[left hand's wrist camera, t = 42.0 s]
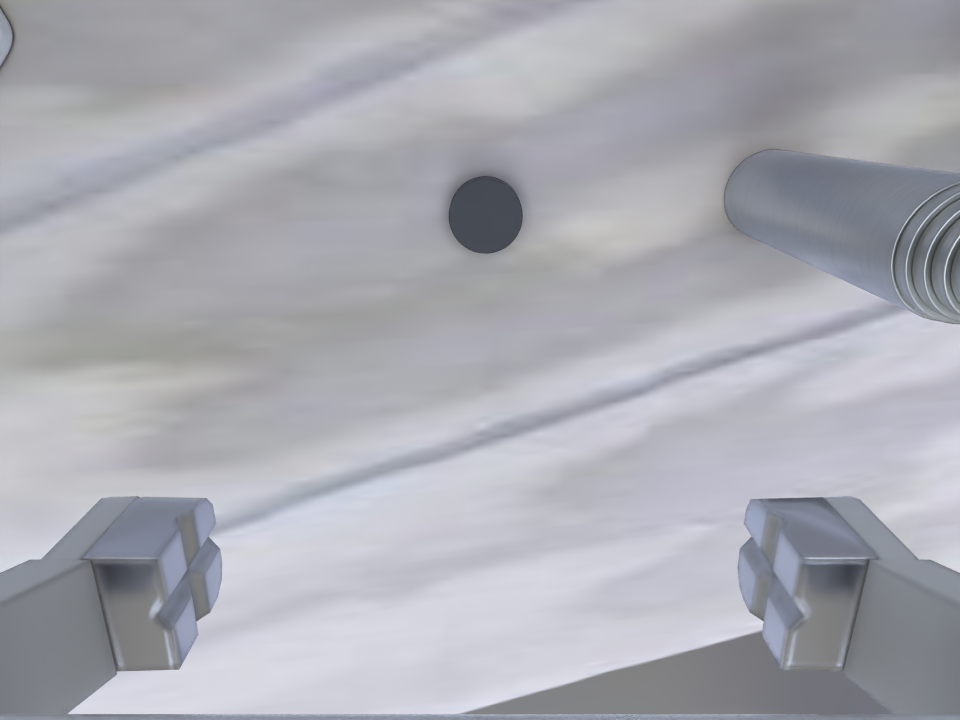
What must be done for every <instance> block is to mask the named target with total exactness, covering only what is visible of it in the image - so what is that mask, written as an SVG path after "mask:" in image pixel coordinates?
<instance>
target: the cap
mask: <svg viewBox="0 0 960 720" xmlns="http://www.w3.org/2000/svg"><path fill="white" fill-rule="evenodd" d="M522 216H523V215H522V208H521V204H520V201H519V199H518V197H517V195H516V193H515V192H514V190H513V189H512V188H511V187H510V186H509V185H508V184H507V183H505V182H504V181H502V180H500V179H498V178H494V177H489V176H483V177H477V178H474V179H471V180H469V181H467V182H466V183H464V184H463V185H462V186H461V187H460V188H459V189H458V190H457V192H456V193H455V195H454V197H453V199H452V202H451V206H450V210H449V223H450V227H451V230H452V232H453V234H454V236H455V237H456V239H457V240H458V241H459V242H460V243H461V244H462V245H463V246H464V247H466V248H467V249H469V250H471V251H474V252H477V253H494V252H497V251H500V250H502V249H504V248H506V247H507V246H508V245H510V244H511V243H512V242H513V240H514V239H515V238H516V236H517V235H518V233H519V231H520V228H521V225H522Z"/></svg>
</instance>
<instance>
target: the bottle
mask: <svg viewBox="0 0 960 720" xmlns="http://www.w3.org/2000/svg"><path fill="white" fill-rule="evenodd" d="M724 204H725V210H726V214H727V216H728V218H729V220H730V222H731V223H732V224H733V226H734V227H735V228H736V229H737V230H739V231H740V232H742V233H743V234H746V235H748V236H750V237H752V238H754V239H756V240H758V241H760V242H763V243H765V244H767V245H769V246H771V247H773V248H775V249H778V250H780V251H782V252H784V253H786V254H788V255H791V256H793V257H795V258H797V259H799V260H801V261H803V262H806V263H808V264H810V265H812V266H814V267H816V268H818V269H821V270H823V271H825V272H827V273H829V274H831V275H833V276H836V277H838V278H840V279H842V280H844V281H846V282H848V283H851V284H853V285H855V286H857V287H859V288H861V289H863V290H866V291H868V292H870V293H872V294H874V295H876V296H878V297H881V298H883V299H885V300H887V301H889V302H891V303H893V304H896V305H898V306H900V307H902V308H904V309H906V310H908V311H911V312H913V313H915V314H917V315H919V316H921V317H924V318H927V319H930V320H935V321H941V322H945V323H951V324H960V174H959V173H951V172H944V171H936V170H929V169H921V168H913V167H906V166H898V165H891V164H883V163H875V162H868V161H860V160H853V159H845V158H838V157H830V156H822V155H815V154H807V153H800V152H792V151H784V150H765V151H761V152H758V153H756V154H754V155H752V156H750V157H748V158H747V159H745V160H744V161H743V162H742V163H741V164H740V165H739V166H738V167H737V168H736V169H735V170H734V172H733V173H732V175H731V177H730V178H729V181H728V183H727V186H726V189H725V195H724Z"/></svg>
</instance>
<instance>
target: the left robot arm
mask: <svg viewBox="0 0 960 720" xmlns="http://www.w3.org/2000/svg"><path fill="white" fill-rule="evenodd" d="M12 39H13V34H12V29H11V26H10V24H9V22H8V20H7V19H6V17H5V15H4V14H3V12H2V10H1V9H0V66H1V64H2V63H3V61H4V59H5V58H6V56H7V54H8V52H9V50H10V48H11V44H12ZM215 525H216V520H215V515H214V510H213V505H212V504H211V502H210V501H209V500H208V499H207V498H170V497H141V498H140V497H138V496H135V497H107V498H102V499H100V500H99V502H98V503H97V504H96V505H95V506H94V507H93V508H92V509H91V510H90V511H89V512H88V513H87V514H86V515H85V516H84V517H83V518H82V519H81V520H80V521H79V522H78V523H77V524H76V525H75V526H74V527H73V528H72V529H71V530H70V531H69V532H68V533H67V534H66V535H65V536H64V537H63V538H62V539H61V540H60V541H59V542H58V543H57V544H56V545H55V546H54V547H53V548H52V549H51V550H50V551H49V552H48V553H47V554H46V555H45V556H44V557H43V558H42V559H41V560H28V561H26V562H24V563H22V564H19V565H17V566H15V567H13V568H10V569H8V570H6V571H4V572H2V573H0V720H960V573H958V572H956V571H954V570H952V569H949V568H947V567H945V566H943V565H941V564H938V563H936V562H934V561H932V560H919V559H918V558H917V557H916V556H915V555H914V554H913V553H912V552H911V551H910V550H909V549H908V548H907V547H906V546H905V545H904V544H903V543H902V542H901V541H900V540H899V539H898V538H897V537H896V536H895V535H894V534H893V533H892V532H891V531H890V530H889V529H888V528H887V527H886V526H885V525H884V524H883V523H882V522H881V521H880V520H879V519H878V518H877V517H876V516H875V514H874V513H873V512H872V511H871V510H870V509H869V508H868V507H867V506H866V505H865V504H864V503H863V502H862V501H861V500H860V499H857V498H854V497H852V496H843V497H818V498H778V499H751V500H750V502H749V504H748V506H747V509H746V514H745V520H744V525H745V526H746V528H747V529H748V531H749V533H750V534H751V536H752V537H751V538H750V539H749V540H748V541H747V542H746V543H745V544H744V545H743V546H742V547H741V548H740V552H739V561H738V577H739V587H740V590H741V593H742V597H743V600H744V602H745V604H746V606H747V608H748V610H749V612H750V613H752V614H753V615H755V616H756V617H758V618H759V619H761V620H762V621H764V624H763V630H762V636H763V638H764V639H765V641H766V643H767V645H768V647H769V649H770V650H771V652H772V654H773V656H774V658H775V660H776V661H777V663H778V665H779V667H780V669H781V670H816V671H844V672H843V675H845V676H846V677H847V678H849V679H850V680H851V681H852V682H854V683H855V684H856V685H857V686H859V687H860V688H861V689H862V690H864V691H865V692H866V693H868V694H869V695H870V696H871V697H873V698H874V699H875V700H876V701H878V702H879V703H880V704H881V705H883V706H884V707H885V708H886V709H888V710H889V711H890V712H892V713H893V714H67V713H69V712H70V711H71V710H72V709H74V708H75V707H76V706H78V705H79V704H80V703H81V702H83V701H84V700H85V699H86V698H88V697H89V696H90V695H91V694H93V693H94V692H95V691H97V690H98V689H99V688H100V687H102V686H103V685H104V684H105V683H107V682H108V681H109V680H110V679H112V678H113V677H114V676H116V675H117V672H116V671H144V670H179V669H180V667H181V665H182V663H183V661H184V660H185V658H186V656H187V654H188V652H189V650H190V649H191V647H192V645H193V643H194V641H195V639H196V638H197V636H198V630H197V624H196V621H198V620H199V619H201V618H202V617H204V616H205V615H207V614H208V613H210V612H211V610H212V608H213V606H214V604H215V602H216V600H217V597H218V593H219V589H220V584H221V580H222V559H221V552H220V548H219V547H218V546H217V545H216V544H215V543H214V542H213V541H212V540H211V539H210V538H209V537H208V536H209V534H210V533H211V531H212V529H213V528H214V526H215Z"/></svg>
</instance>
